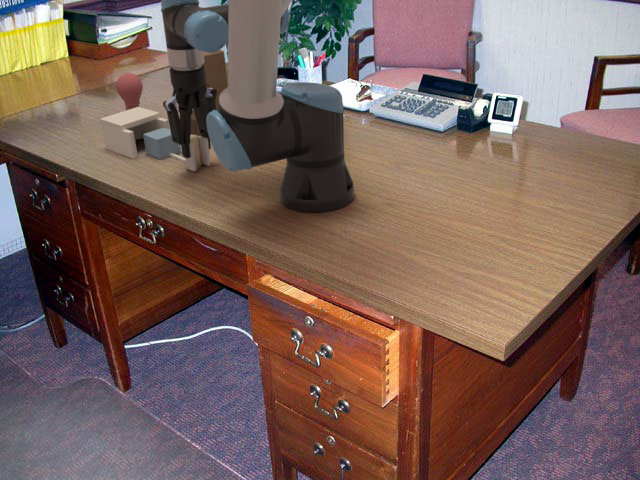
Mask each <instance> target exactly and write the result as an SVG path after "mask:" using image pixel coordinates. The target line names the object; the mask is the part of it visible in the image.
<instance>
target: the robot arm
mask: <svg viewBox="0 0 640 480" xmlns="http://www.w3.org/2000/svg"><path fill="white" fill-rule="evenodd" d="M292 1H293V0H228V3H227V4H222V5H221V4H220V5H214V6H208V7H201V6H200V0H160V5H161V8H160V11H161V15H162V23H163V28H164V29H163V30H164V37H165V44H166V46H165V47H166V52H167V60H168V65H169V66H170V68H169V75H170V76H169V78H170V83H171V86H172V89H173V91H172V95H171V96H172V97H171V98H170V99H169V100H168V101H167V100H164V101H163V102H162V105H163V107H164V109H165V111H166V114H167V115H166V116H167V120H168V122H169V129H170V130H171V136H172V141H173V142H175V143H177V144H180V148H181V154H182V157H183V158H185V160H186V163H185V164H186V165H185V166H186V167H185V168H186V169H187V170H190V171H191V172H196V171H197V170H198V168H196V160H195V152H194V144H193V143H190V135H192V134H191V114H192V113H193V109H194V113H195V116H196V120H197V124H198V128H199V131H200V134H201V136H198V140H199V148H200V155H201V162H202V165H205V166H207V167H209V166H210V165H211V158H210V157H211V156H210V150H211V148H213V151H214V153H215V156H216V157H217V158H218V160H219V161H220V163H221V165H222V166H224V167H225V168H226V169H227V170H229V171H231V172H238V171H239V172H240V171H243V170H251V169H253V168H256V167H260V166H262V165H267V164H268V165H269V164H272V163H274V162H278V161H284V160H285V159H286V166H285V169H284V173H283V176H282V180H281V184H280V189H279V193H280V201H281V203H282V204H283V205H284V206H285V207H287V208H290V209H291V210H293V211H298V212H303V213H304V212H305V213H322V212H323V213H325V212H331V211H335V210H338V209H341V208H344V207H345V206H347V205H349V204H350V203H351V202H352V201H353V200H354V198H355V185H354V181H353V179H352V176H351V173H350V170H349V168H348V166H347V163H346V158H345V130H344V128H345V127H344V113H345V110H344V102H343V95H342V93H341V92H340V90H339V89H337V88H336V87H334V86H331V85H328V84H324V83H318V82H306V81H304V82H302V81H301V82H299V81H298V82H291V83H287V84H285V85H282V87H281V91H280V93H279V91H278V90H277V83H278V69H279V68H278V65H279V52H280V51H279V50H280V38H281V36H280V35H284V33H286V32H287V30H288V28H289V27H290V26H289V25H290V24H289V23H290V10H289V6H290V5H291V3H292ZM226 45H227V83H228V87H227V88H226V89H225V90H223V91H222V92H221V94H220V96H219V109H218V110H216V103H215V99H216V95H217V90H216V89H213V88H210V87H207V86H206V85H205V82H206V73H205V66H204V65H203V64H204V52H209V53H213V52H217V51H219V50H222V49H223V48H224V47H225V46H226ZM203 51H204V52H203ZM203 99H204V100H203Z"/></svg>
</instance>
